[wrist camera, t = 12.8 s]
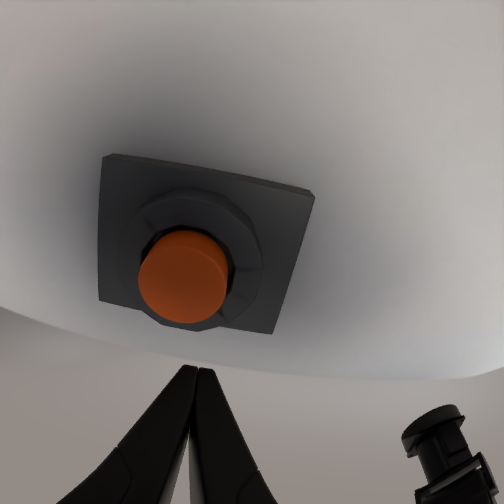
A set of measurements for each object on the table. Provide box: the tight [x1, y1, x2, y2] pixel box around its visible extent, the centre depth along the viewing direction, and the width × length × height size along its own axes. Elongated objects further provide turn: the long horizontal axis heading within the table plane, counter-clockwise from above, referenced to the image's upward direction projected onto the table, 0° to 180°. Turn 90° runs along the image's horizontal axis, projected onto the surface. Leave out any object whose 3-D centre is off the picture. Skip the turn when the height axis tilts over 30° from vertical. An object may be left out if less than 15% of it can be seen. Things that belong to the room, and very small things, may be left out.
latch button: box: [138, 230, 228, 323], centre depth 13 cm, size 4×4×2 cm
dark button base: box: [98, 154, 315, 334], centre depth 15 cm, size 10×8×3 cm
